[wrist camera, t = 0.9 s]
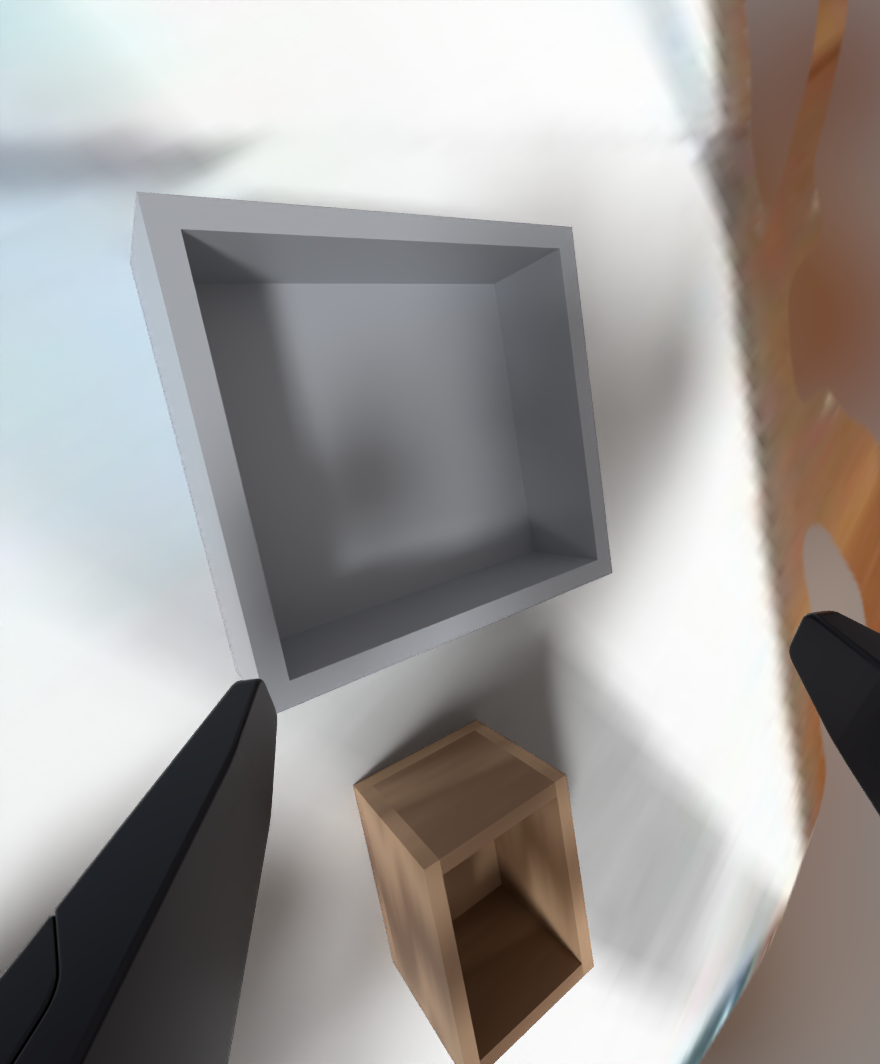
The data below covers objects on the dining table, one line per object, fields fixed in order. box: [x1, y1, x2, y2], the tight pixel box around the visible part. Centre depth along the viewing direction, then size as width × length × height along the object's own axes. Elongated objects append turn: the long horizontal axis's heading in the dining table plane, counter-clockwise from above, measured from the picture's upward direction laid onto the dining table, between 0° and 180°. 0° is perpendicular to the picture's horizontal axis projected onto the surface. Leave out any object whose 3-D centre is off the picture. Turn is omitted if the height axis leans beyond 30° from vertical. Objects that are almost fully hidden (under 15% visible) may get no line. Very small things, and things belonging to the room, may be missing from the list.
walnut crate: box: [353, 720, 594, 1064], centre depth 22 cm, size 9×6×6 cm
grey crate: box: [130, 192, 612, 713], centre depth 20 cm, size 14×15×5 cm
